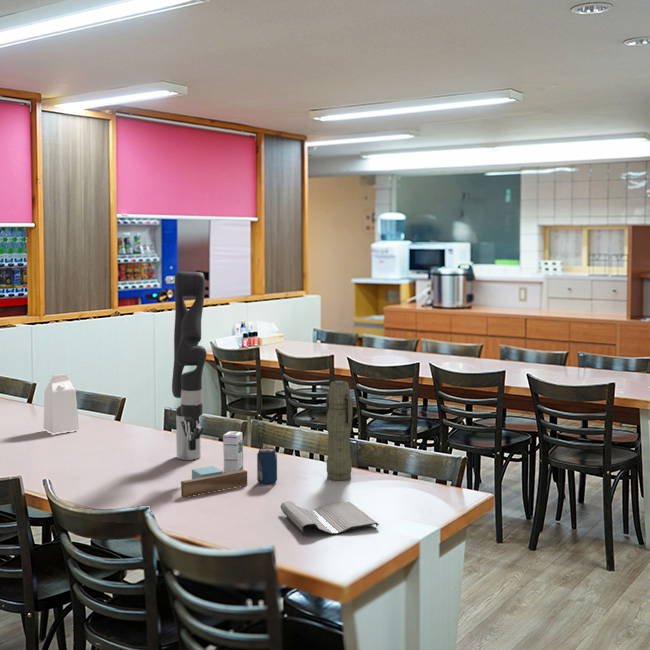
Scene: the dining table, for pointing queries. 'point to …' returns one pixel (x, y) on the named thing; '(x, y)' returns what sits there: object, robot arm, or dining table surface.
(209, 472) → the block
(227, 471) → the syrup box
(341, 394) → the thermos
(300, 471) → the dining table surface
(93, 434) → the dining table surface
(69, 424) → the milk
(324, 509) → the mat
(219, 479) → the board
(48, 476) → the dining table surface
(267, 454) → the soda can
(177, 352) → the robot arm
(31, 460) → the dining table surface
